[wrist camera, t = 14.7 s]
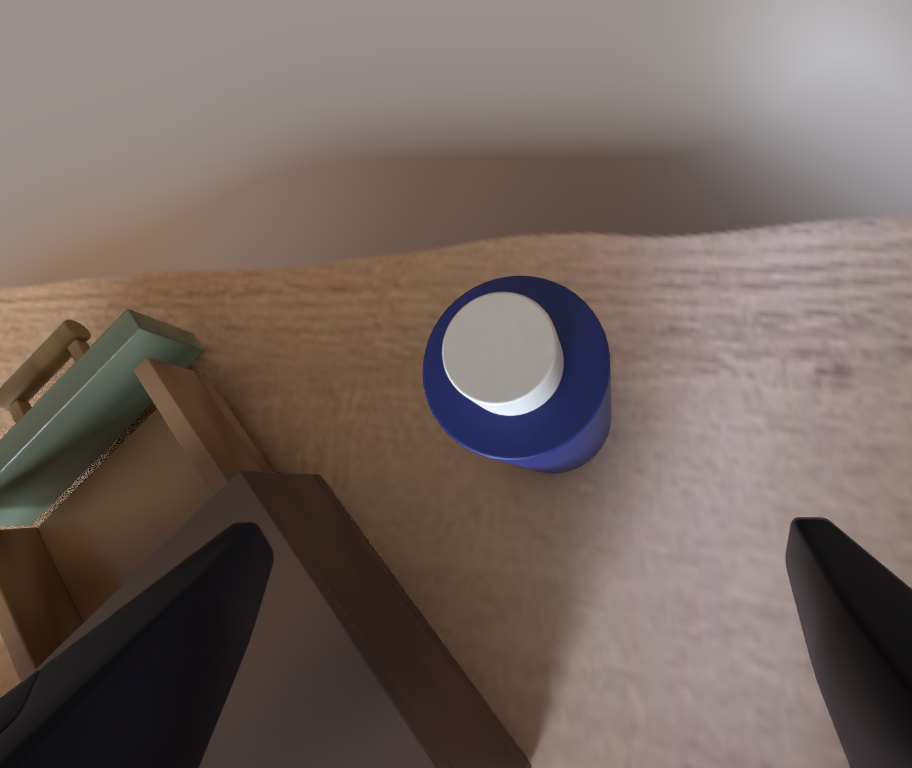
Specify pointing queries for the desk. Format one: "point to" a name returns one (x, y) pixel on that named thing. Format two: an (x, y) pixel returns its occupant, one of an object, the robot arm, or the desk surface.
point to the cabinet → (328, 647)
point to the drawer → (103, 471)
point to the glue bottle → (521, 374)
